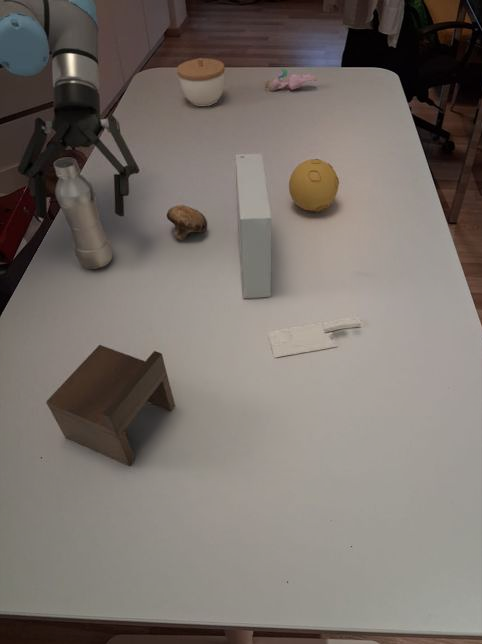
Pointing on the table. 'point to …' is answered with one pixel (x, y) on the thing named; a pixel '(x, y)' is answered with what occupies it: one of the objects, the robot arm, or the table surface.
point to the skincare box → (253, 226)
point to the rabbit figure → (292, 82)
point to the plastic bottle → (81, 214)
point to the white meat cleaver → (307, 337)
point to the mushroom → (186, 220)
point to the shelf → (109, 399)
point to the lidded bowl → (202, 80)
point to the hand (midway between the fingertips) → (80, 216)
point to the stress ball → (313, 185)
